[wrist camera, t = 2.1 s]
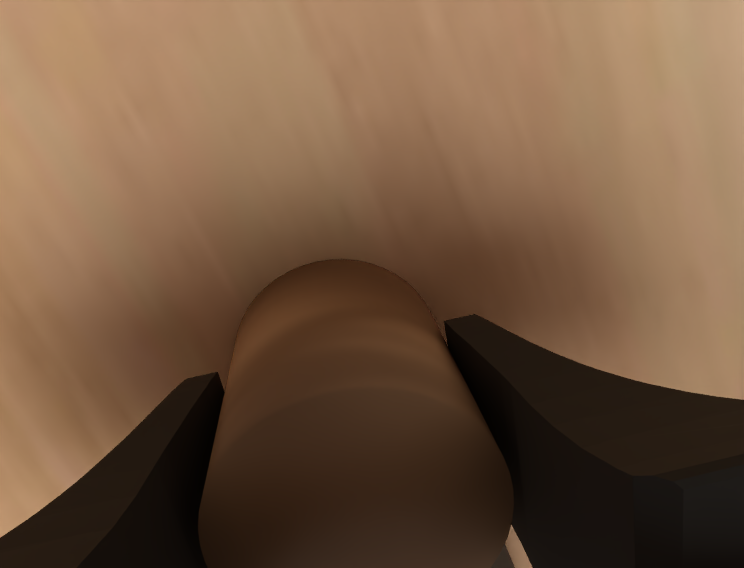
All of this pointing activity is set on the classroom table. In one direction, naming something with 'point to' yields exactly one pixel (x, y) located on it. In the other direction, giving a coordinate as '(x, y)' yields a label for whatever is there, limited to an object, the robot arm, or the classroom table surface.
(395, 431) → the walnut post
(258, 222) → the classroom table surface
